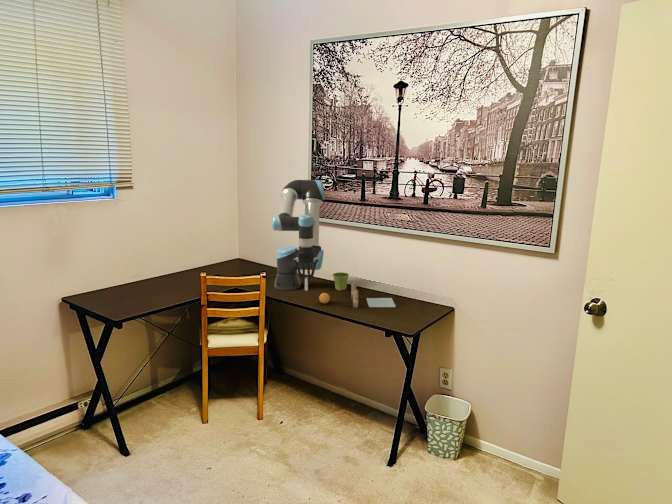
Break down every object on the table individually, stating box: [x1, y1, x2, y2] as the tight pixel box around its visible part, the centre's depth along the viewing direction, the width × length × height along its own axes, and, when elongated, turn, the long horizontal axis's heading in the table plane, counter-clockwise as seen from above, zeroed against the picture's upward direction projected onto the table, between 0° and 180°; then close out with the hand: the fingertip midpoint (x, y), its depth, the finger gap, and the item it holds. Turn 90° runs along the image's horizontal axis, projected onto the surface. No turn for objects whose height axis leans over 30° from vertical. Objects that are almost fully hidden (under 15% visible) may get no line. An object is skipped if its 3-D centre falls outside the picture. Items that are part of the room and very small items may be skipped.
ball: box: [318, 292, 330, 304], centre depth 262 cm, size 6×6×6 cm
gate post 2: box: [352, 289, 359, 309], centre depth 256 cm, size 3×3×9 cm
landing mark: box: [365, 297, 396, 308], centre depth 264 cm, size 14×14×1 cm
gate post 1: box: [350, 282, 357, 301], centre depth 269 cm, size 3×3×9 cm
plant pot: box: [332, 272, 350, 291], centre depth 286 cm, size 9×9×9 cm
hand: (306, 289), depth 260 cm, fingers closed
